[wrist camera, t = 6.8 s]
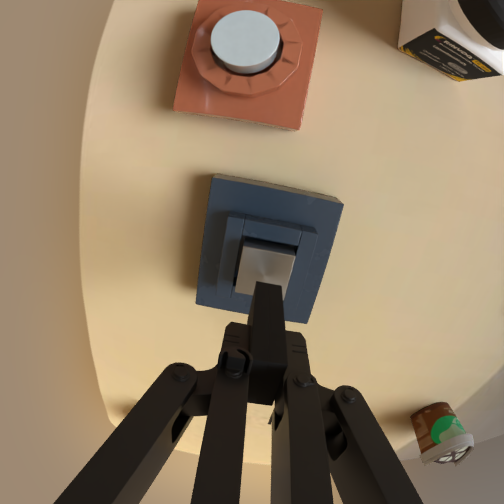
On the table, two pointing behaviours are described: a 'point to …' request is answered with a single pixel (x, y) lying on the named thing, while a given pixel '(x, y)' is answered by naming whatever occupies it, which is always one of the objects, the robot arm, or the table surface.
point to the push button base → (265, 240)
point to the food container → (441, 435)
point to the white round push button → (245, 41)
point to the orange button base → (250, 84)
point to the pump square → (264, 265)
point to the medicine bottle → (455, 36)
